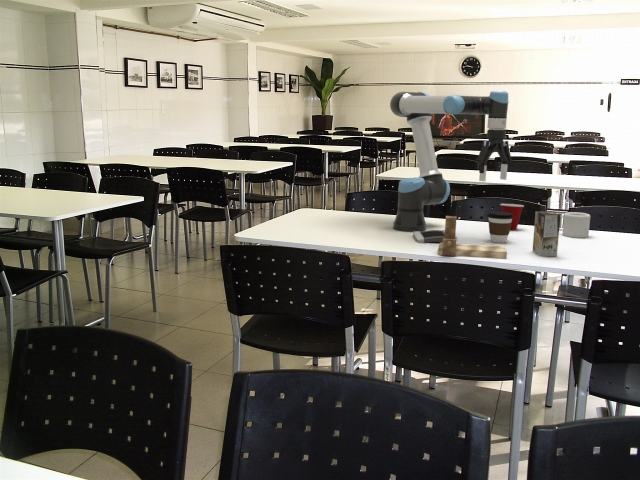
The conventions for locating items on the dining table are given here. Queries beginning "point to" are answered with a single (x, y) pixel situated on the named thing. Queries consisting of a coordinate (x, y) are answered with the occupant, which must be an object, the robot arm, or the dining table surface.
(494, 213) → the coffee cup
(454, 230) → the gauge
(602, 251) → the dining table surface
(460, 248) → the board
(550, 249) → the coffee box
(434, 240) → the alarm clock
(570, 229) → the mug
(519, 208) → the plastic cup
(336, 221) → the dining table surface
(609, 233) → the dining table surface
